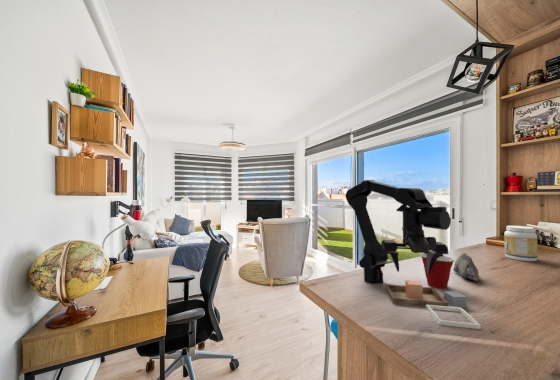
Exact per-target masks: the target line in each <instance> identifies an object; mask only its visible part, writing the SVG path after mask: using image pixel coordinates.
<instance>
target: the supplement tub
mask: <svg viewBox="0 0 560 380" xmlns="http://www.w3.org/2000/svg"><path fill="white" fill-rule="evenodd" d="M505 226H506V228H505V231H504V234H503V235H504V256H505V258H508V259H511V260H515V261H523V262H536V261H538V258H539V255H538V254H539V253H538V235H537V234H536V233H535V227H532V226H524V225H505Z"/></svg>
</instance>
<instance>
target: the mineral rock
mask: <svg viewBox="0 0 560 380" xmlns="http://www.w3.org/2000/svg"><path fill="white" fill-rule="evenodd" d="M453 265H454V266H453V269H452V270H453V271H454V273H457V275H459V276H460V277H462V278H464V279H469V280H471V281H476V282H477V281H480V275H479V270H478V268H477V266H476V265H475V263H474V261H473V259H472V257H471V256H469V255H468V254H467V253H466V252H463V253H461V254H460V255H459V256H457V258H456V259H455V261H454V263H453Z"/></svg>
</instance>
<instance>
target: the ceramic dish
mask: <svg viewBox="0 0 560 380" xmlns="http://www.w3.org/2000/svg"><path fill="white" fill-rule="evenodd" d="M425 309H426V310H427V311H428V312H429V313H430V315H431V316H432V317H433V319H434V320H435V321H436V322H437V323H438V325H441V326H449V327H460V328H466V329H468V328H469V329H475V330H481V329H482V325H481V324H480V322H478V321H477V320H476V319H475V318H473V317H472V315H470V314H469V313H468V312H467V311H466V310H465V309H463V307H452V306H451V305H449V306H439V305H428V304H426V307H425ZM435 310H438V311H448V312H449V311H450V312H459V313H461V314H462V316H464V317H465V318H466V319H467V320H468V321H469V322H466V321H456V320H455V321H454V320H447V319H446V320H445V319H441V318H440V317H439V316H438V314H437V313H436V312H435Z"/></svg>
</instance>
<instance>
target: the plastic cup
mask: <svg viewBox="0 0 560 380" xmlns="http://www.w3.org/2000/svg"><path fill="white" fill-rule="evenodd" d="M419 254H420V257H421V260H422V263H423V268H424V273H425V278H426V282H427V285H428V287H430V288H434V289H439V290H445V289H448V285H449V281H450V277H451V271H452V266H453V265H454V263H455V262H456V259H455V258H453V257H450V256H446V255H443V256H442V257H439V258H437V260H436V261H435V263H434V265H433V268H432V270H431V272H430V274H428V273H427V254H425V253H419Z"/></svg>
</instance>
